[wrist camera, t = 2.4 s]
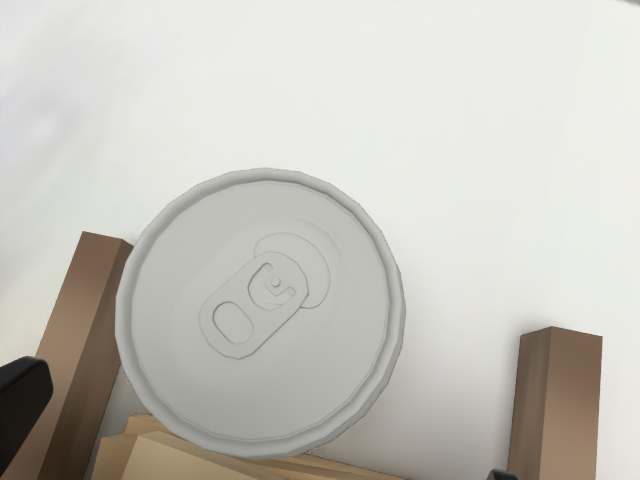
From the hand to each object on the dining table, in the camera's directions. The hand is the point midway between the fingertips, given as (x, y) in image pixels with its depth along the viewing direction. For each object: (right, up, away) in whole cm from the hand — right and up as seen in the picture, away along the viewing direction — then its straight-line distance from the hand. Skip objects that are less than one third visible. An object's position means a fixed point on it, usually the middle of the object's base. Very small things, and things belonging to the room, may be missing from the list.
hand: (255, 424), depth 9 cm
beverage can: (+1, -1, +10) cm, 10 cm away
